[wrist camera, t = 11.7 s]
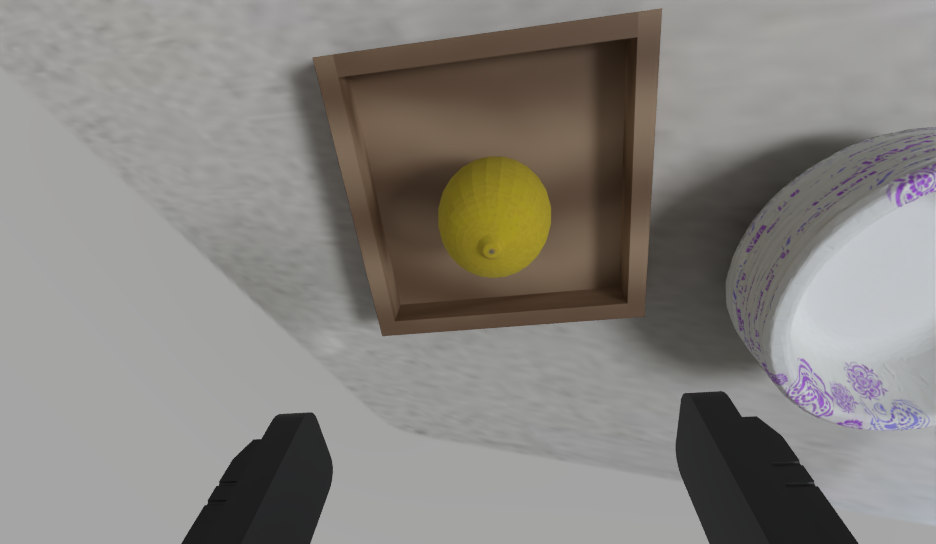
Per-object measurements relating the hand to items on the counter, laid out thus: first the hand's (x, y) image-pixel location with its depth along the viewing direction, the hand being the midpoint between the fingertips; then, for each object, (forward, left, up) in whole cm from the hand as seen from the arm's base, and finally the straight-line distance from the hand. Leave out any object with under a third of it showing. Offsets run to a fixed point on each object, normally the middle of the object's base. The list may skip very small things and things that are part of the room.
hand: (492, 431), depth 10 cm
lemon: (0, 0, -18) cm, 18 cm away
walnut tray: (0, 0, -19) cm, 19 cm away
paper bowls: (+6, +20, -19) cm, 29 cm away
